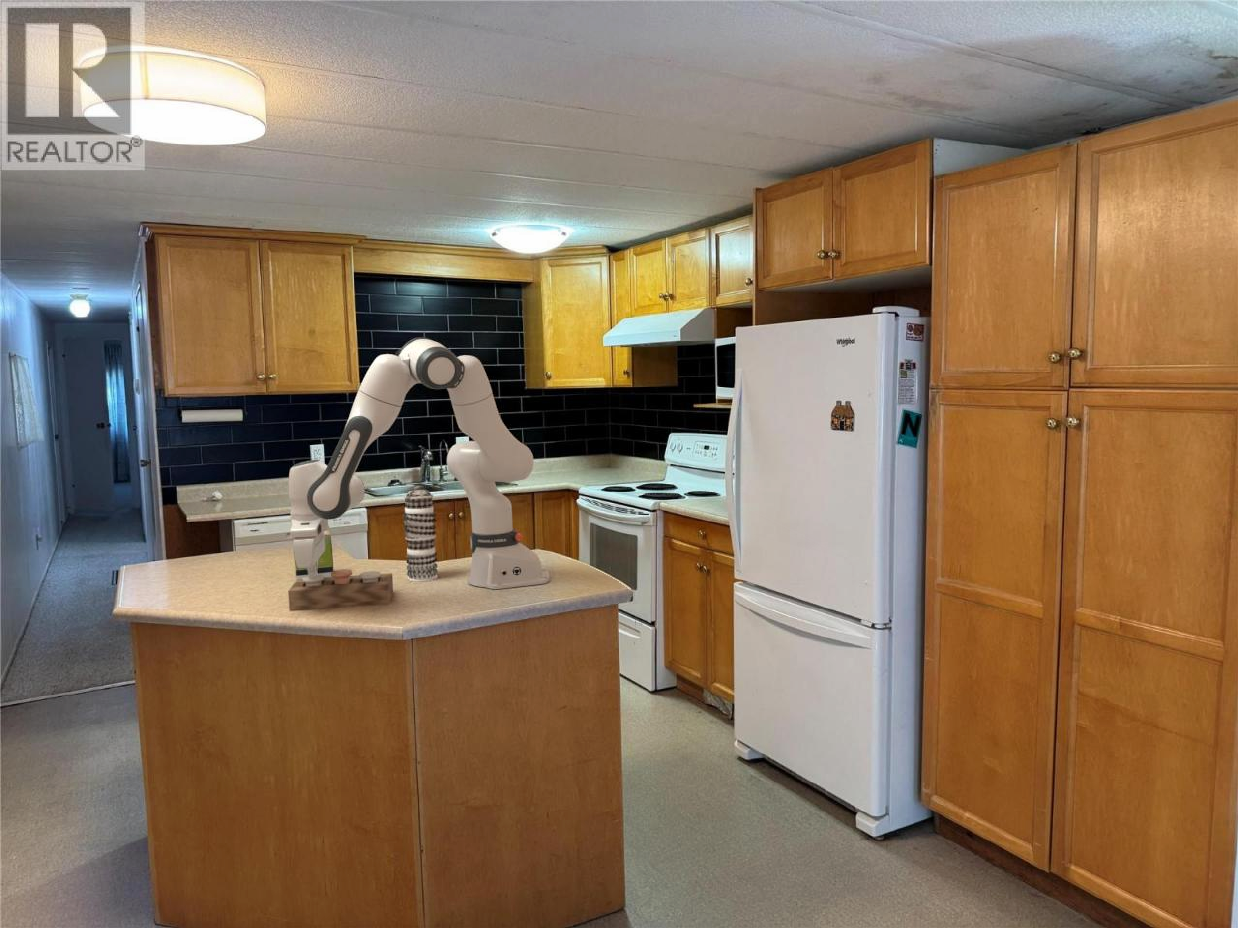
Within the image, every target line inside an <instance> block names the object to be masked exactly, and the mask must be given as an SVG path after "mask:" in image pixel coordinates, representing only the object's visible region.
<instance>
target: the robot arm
mask: <svg viewBox="0 0 1238 928" xmlns="http://www.w3.org/2000/svg"><path fill="white" fill-rule="evenodd" d="M362 379H363V380H361V381H362V382H361V383H360V386H359V389H358V390H357V393H356V396H355V399H354V402H353V404H352V407H351V410H350V413H349V417H348V419H347V421H346V424H345V426H344V429H343V432H342V434H341V436H340V438H339V440H338V443H337V445H336V446H335V448H334V451H333V453H332V456H331V457H330V460H329V462H328V464H326V463H324V462H323V461H322V460H319V459H312V460H307V461H306V460H305V461H302V462H299V463H296V464H294V465H292V466H291V467H290V469H289V474H288V497H289V500H290V504H291V505H290V506H291V507H290V513H289V514H290V529H289V535H290V538H292V542H293V543H292V544H294V545H293V553H294V552H295V558H294V560H295V559H296V564H297V566H298V568H307V571H308V578H309V579H314V578H316V576H317V575H318V571H317V569H318V559H319V558H320V556H321V555H322V554H323V553H324V551H325V538H324V531H326V530H328V525H329V520H335V519H339V518H340V517H341V516H342V515H344V514H345V513H346V512H349V511H350V510H352V509H354V508H355V507H357V506H358V505H359V504H361V502H362V501H363V499H364V497H365V493H366V489H365V485H364V481H363V480H362V479H361V478H360V477H359V476H358V475H357V474H355V473H356V470H357V469H358V466H359V464H360V462H361V459H362V457H363V455H364V453H365V451H366V450H367V449H368V447H369V446H370V445H371V444H372V443H373V442H374V441H375V440H377V439H378V438H379V437H380V436H382V435H383V434H385V433H386V432H388V431H389V429H390V428H391V426H392V425H393V424H394V422H395V421H396V419H397V418H398V416H399V414H400V412H401V409H402V405H404V400H405V398H406V395H407V394H408V392H409V391H410V389H411V388H413V386H414V385H416V384H418V383H420V384H422V385H423V386H425V387H427V388H429V389H433V390H444V389H446V390H447V392H448V395H449V398H450V402H451V406H452V409H453V413H454V417H455V419H456V423H457V425H458V428H459V431H461V432H462V433H463V434H465V435H466V436H468V437H470V438H471V439H472V440H468V441H463V442H459V443H455V444H454V445H452V446H451V447H450V449H449V450H448V452H447V456H446V466H447V468H448V471H449V473H450V475H452V477H454V478H455V479H456V480H457V481H458V482H459V483H460V485H461V486H462V488H463V489H464V491H465V494H466V496H467V498H468V501H469V506H470V513H471V514H470V516H471V531H470V549H471V552H472V558H471V566H470V567H471V568H470V572H469V579H468V584H469V585H471V586H474V587H481V588H487V589H490V590H500V589H501V590H502V589H510V588H516V587H527V586H534V585H541V584H548V583H549V581H550V580H551V575H550V573H549V571H547V570H545V569H543V568H542V567H543V566H542V563H541V560H540V557H539V556H538V555H537V553H536V552H534V551H533V550H531V549H529V547H527V546H526V545H524V544H523V543H521V541H522V540H523V535H522V533H520V531H518V530H516V529H513V509H512V508H513V507H512V502H511V500H510V499H509V498H508V497H507V496H506V495H504V494H503V493H502V492H501V491H500V490H499V489H498V487H497V484H496V482H497V483H515V482H518V481H519V482H520V481H524V480H526V479H527V478H529V476H530V475H531V473H532V470H533V468H534V456H533V453H532V451H531V449H530V448H529V447H528V445H526V444H524V443H522V442H520V440H518V439H517V438H516V437H515V436H514V435H513V434H512V433H511V432H510V431H509V430H508V428H507V426H506V425H505V424H504V422H503V420H502V418H501V416H500V413H499V410H498V408H497V404H496V401H495V398H494V394H493V389H492V386H491V384H490V381H489V378H488V376H487V373H486V371H485V368H484V366H483V364H482V362H481V361H480V360H479V358H477V357H475V356H473V355H466V354H464V355H459V356H456V354H455V353H453V352H452V351H451V350H449V349H448V348H447V347H446V346H444V345H443V344H441V342H438V341H434V339H433V340H432V339H431V338H429V337H423V336H422V337H421V336H420V337H415V338H412V339H410V340H409V341H407V342H406V343H405V344H404V345H403V346H402V347H401V348H400V349H398V350H397V351H396V352H395V354H392V353H391V354H389V353H386V354H380V355H378V356H377V357H376V358H375V359H374V360H373V362H372V363H371V365H370V366H369V368H368V370H367V371H366V374H365V375H364V377H363V378H362ZM293 538H294V539H293Z"/></svg>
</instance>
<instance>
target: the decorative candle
mask: <svg viewBox="0 0 1238 928" xmlns="http://www.w3.org/2000/svg"><path fill="white" fill-rule="evenodd" d="M433 497H434V495H433V494H431V492H430V490H428V489H414V490H410V491H408V492H407V494H406V495H405V496H404V497H403V498H404V501H405V502H404V504H405V507H404V511H403V514H402V518H403V519H405V520H404V521H403V525H404V527H403V530H404V532H405V534H404V537H405V540H406V543H407V544H406V545H407V548H406V551H407V552H406V555H405V558H406V564H407V566H406V570H407V572H406V575H407V581H409V582H413V583H414V582H415V583H416V582H417V583H419V582H428V581H433V580H436V579H438V574H437V573H438V571H439V570H438V569H437V568H438V563H436V562H437V561H438V558H437V555H438V553H437V552H436V545H435V538H436V537H437V535H436V534H437V532H436V528H437V526H436V525H434V523H435V522H437V519H436V516H437V514H436V513H435V512H434V505H433V503H434V502H433Z"/></svg>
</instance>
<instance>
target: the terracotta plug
mask: <svg viewBox="0 0 1238 928" xmlns="http://www.w3.org/2000/svg"><path fill="white" fill-rule="evenodd" d="M331 576H332V577H334V584H335V585H336V584H350V576H353V570H352V569H346V568H345V569H344V568H343V569H336V570H333V571H332V572H331Z"/></svg>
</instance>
